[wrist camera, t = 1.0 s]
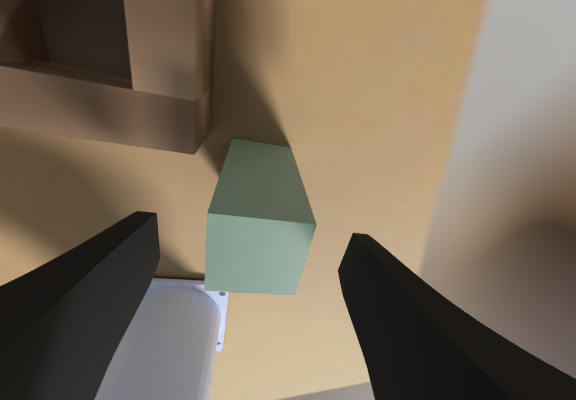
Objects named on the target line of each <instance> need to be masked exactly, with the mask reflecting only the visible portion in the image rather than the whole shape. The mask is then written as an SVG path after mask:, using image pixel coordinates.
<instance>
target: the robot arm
mask: <svg viewBox="0 0 576 400" xmlns="http://www.w3.org/2000/svg"><path fill="white" fill-rule="evenodd" d="M159 260H160V249H159V237H158V225H157V213H151V212H142V211H136V212H135V213H133V214H131V215H129V216H128V217H126V218H124V219H122V220H121V221H119V222H117V223H116V224H114V225H112V226H111V227H109V228H108V229H106V230H104V231H103V232H101V233H99V234H97V235H96V236H94V237H92V238H91V239H89V240H87V241H85V242H84V243H82V244H80V245H79V246H77V247H75V248H73V249H71V250H70V251H68V252H66V253H64V254H62V255H60V256H59V257H57V258H55V259H53V260H51V261H49V262H47V263H46V264H44V265H42V266H40V267H38V268H36V269H34V270H33V271H31V272H29V273H27V274H25V275H23V276H21V277H19V278H17V279H14V280H12V281H10V282H8V283H6V284H4V285H2V286H0V400H209V395H210V388H211V382H212V375H213V368H214V362H215V355H216V352H220V351H221V350H222V349H223V340H224V331H225V322H226V313H227V304H228V294H229V292H221V291H204V285H205V281H199V280H181V279H163V278H153V276H154V274H155V271H156V268H157V265H158V263H159ZM338 274H339V279H340V284H341V289H342V293H343V297H344V300H345V303H346V306H347V309H348V312H349V315H350V318H351V321H352V323H353V326H354V329H355V332H356V335H357V338H358V341H359V344H360V347H361V349H362V352H363V356H364V359H365V362H366V365H367V369H368V373H369V377H370V381H371V385H372V389H373V393H374V397H375V400H576V379H575V378H573V377H571V376H569V375H568V374H566V373H564V372H562V371H560V370H558V369H557V368H555V367H553V366H551V365H549V364H547V363H546V362H544V361H542V360H541V359H539V358H537V357H535V356H534V355H532V354H530V353H528V352H527V351H525V350H523V349H521V348H520V347H518V346H517V345H515V344H514V343H512V342H510V341H509V340H507V339H505V338H504V337H502V336H501V335H499V334H497V333H496V332H494V331H493V330H491V329H490V328H488V327H486V326H485V325H483V324H482V323H480V322H479V321H477V320H476V319H474V318H473V317H472V316H470V315H469V314H467V313H466V312H464V311H463V310H461V309H460V308H459V307H457V306H456V305H454V304H453V303H451V302H450V301H449V300H448V299H446V298H445V297H443V296H442V295H441V294H440V293H438V292H437V291H436V290H435V289H433V288H432V287H431V286H429V285H428V284H427V283H426V282H424V281H423V280H422V279H421V278H419V277H418V276H417V275H416V274H415V273H413V272H412V271H411V270H410V269H409V268H407V267H406V266H405V265H404V264H403V263H402V262H400V261H399V260H398V259H397V258H396V257H395V256H393V255H392V254H391V253H390V252H389V251H388V250H386V249H385V248H384V247H383V246H382V245H380V244H379V243H378V242H377V241H376V240H374V239H373V238H372V237H370V236H369V235H368V234H359V233H353V234H352V237H351V239H350V242H349V244H348V247H347V249H346V252H345V254H344V256H343V259H342V261H341V264H340V266H339V269H338Z"/></svg>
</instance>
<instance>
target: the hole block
mask: <svg viewBox="0 0 576 400" xmlns="http://www.w3.org/2000/svg"><path fill="white" fill-rule="evenodd" d="M215 4H216V0H0V127H5V128H12V129H19V130H26V131H33V132H40V133H47V134H54V135H61V136H68V137H75V138H82V139H89V140H96V141H103V142H110V143H117V144H124V145H131V146H138V147H145V148H152V149H159V150H166V151H173V152H180V153H187V154H195V153H196V151H197V150H198V149H199V147H200V146H201V144H202V143H203V141H204V140H205V138H206V137H207V135H208V134H209V132H210V131H211V107H212V81H213V55H214V30H215Z"/></svg>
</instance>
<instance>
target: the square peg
mask: <svg viewBox="0 0 576 400" xmlns="http://www.w3.org/2000/svg"><path fill="white" fill-rule="evenodd" d="M315 228H316V222H315V219H314V216H313V213H312V210H311V207H310V204H309V201H308V198H307V195H306V192H305V188H304V185H303V182H302V179H301V176H300V173H299V170H298V167H297V164H296V161H295V158H294V155H293V152H292V149H291V147H286V146H279V145H273V144H267V143H261V142H254V141H248V140H242V139H235V138H232V141H231V144H230V147H229V150H228V153H227V156H226V159H225V162H224V165H223V168H222V171H221V174H220V177H219V180H218V183H217V186H216V189H215V192H214V195H213V198H212V201H211V204H210V207H209V210H208V213H207V233H206V259H205V285H204V291H221V292H241V293H261V294H282V295H295V294H296V290H297V287H298V284H299V280H300V277H301V274H302V270H303V267H304V264H305V261H306V257H307V254H308V251H309V247H310V244H311V241H312V238H313V234H314V231H315Z"/></svg>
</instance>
